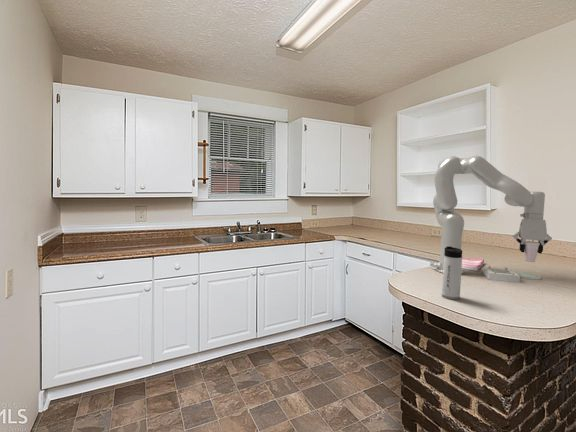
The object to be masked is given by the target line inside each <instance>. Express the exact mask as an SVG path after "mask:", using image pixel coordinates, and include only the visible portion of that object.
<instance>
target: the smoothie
mask: <svg viewBox="0 0 576 432" xmlns="http://www.w3.org/2000/svg"><path fill="white" fill-rule="evenodd" d="M524 245H525V250H524V257H525V262H528V263H529V262H530V263H536V259H537V255H538V252H537V251H538V247H539V245H540V243H539V242H538V241H535V240H526V241H525V242H524Z"/></svg>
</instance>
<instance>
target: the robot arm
mask: <svg viewBox="0 0 576 432" xmlns="http://www.w3.org/2000/svg"><path fill="white" fill-rule="evenodd" d="M465 174H466V175H467V174H472V175H473V176H475V177H476V178H477V179H478V180H479V181H481V182H482V184H484V185H485V186H487V187H488V188H490V189H493V190H496V191H498V192H500V193H503V194H505V196H504V202H505V203H506V205H509V206H512V207H520V208H521V207H522V208H523V212H522V213H520V216H519V217H521V221H520V225H519V230H518V231H517V232H516V233H514V235H512V238H513V239H514V240H515V241H517V242H518V243H519V251H520V252H521V253H525V245H524V242H525V241H532V240H534V241H537V242H539V243H540V245H539V247H538V251H537V254H540V255H542V253H543V252H544V246H545V245H546V244H548V242H551V240H552V239H553V238H552V237H551V236H550V235H549V234H548V233H547V230H548V229H547V220H546V219H544V213H545V212H544V211H545V201H546V198H545V197H546V194H545V192H543V191H530V190H529V189H527V188H526V187H525V186H524V185H522V184H521V183H519V182H518V181H516V180H515V179H512V178H511V177H510V176H507V175H505V174H504V173H502V172H501V171H500V170H498V169H497V168H496V167H495V166H494V165H493V164H492V163H490V162H489V161H488V160H487V159H485V158H484V157H482V156H480V155H473V156H469V157H461V158H460V157H458V156H456V155H454V156H453V155H452V156H449V157H446V158H443V159H441V160H440V161H439V162H438V165H437V169H436V172H435V174H434V188H435V193H436V194H435V195H434V197H433V202H432V203H433V209H434V212H435V218H436V220H437V223H438V224H439V226H440V227H441V228H442V230H441V236H440V253H439V260H438V262H429V266H431V267H433V268H435V270H436V271H437V272H438V273H440V274H441V273H442V274H443V267H444V254H445V253H444V252H445V248H446V247H447V246H451V247H454V248H458V249H461V250H462V246H463V245H462V243H463V242H462V241H463V233H464V229H465V228H464V227H465V219H464V217H463V216H462V214H460V213H459V212H456V211H455V208H456V207H457V205H458V198H457V194H456V189H455V184H454V177H455V175H465ZM463 274H464V269H461V275H463Z"/></svg>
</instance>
